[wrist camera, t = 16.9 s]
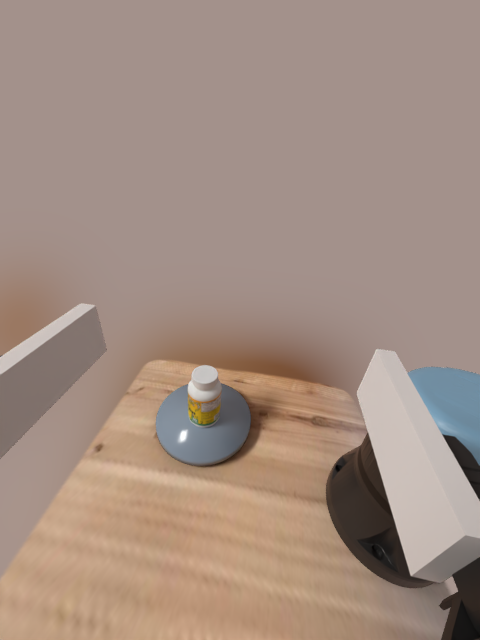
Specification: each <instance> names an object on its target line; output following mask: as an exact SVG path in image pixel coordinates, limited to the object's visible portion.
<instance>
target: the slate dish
mask: <svg viewBox="0 0 480 640" xmlns="http://www.w3.org/2000/svg"><path fill="white" fill-rule="evenodd" d="M221 386H222V391H221V406H220V416H219V419H218V421H217V422H216V423H215V424H214V425H212V426H210V427H206V428H201V427H197V426H196V425H194V424H193V423H191V421H190V419H189V416H188V384H187V385H185V386H182V387H180V388H178V389H177V390H175V391H174V392H172V393H171V394H170V395H169V396H168V397H167V398H166V399H165V400H164V402H163V403H162V405H161V406H160V408H159V411H158V413H157V417H156V430H157V436H158V439H159V442H160V444H161V446H162V447H163V449H164V450H165V451H166V452H167V453H168V454H169V455H170V456H171V457H172V458H174V459H176V460H178V461H180V462H182V463H185V464H189V465H194V466H207V465H213V464H217V463H220V462H222V461H224V460H226V459H228V458H230V457H231V456H233V455H234V454H235V453H236V452H237V451H238V450H239V449H240V448H241V447H242V446H243V444H244V443H245V441H246V439H247V437H248V434H249V430H250V424H251V415H250V410H249V407H248V405H247V403H246V401H245V399H244V398H243V397H242V396H241V395H240V394H239V393H238V392H237V391H236V390H234V389H233V388H231V387H229V386H227V385H225V384H221Z"/></svg>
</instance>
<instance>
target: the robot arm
mask: <svg viewBox="0 0 480 640" xmlns="http://www.w3.org/2000/svg"><path fill="white" fill-rule="evenodd" d="M106 350H107V349H106V344H105V340H104V337H103V333H102V329H101V325H100V321H99V317H98V313H97V309H96V306H95V305H89V304H83V303H81V304H79V305H78V306H76V307H75V308H73V309H72V310H70V311H69V312H67V313H66V314H64V315H63V316H61V317H60V318H58V319H57V320H55V321H54V322H52V323H51V324H50V325H48V326H46V327H45V328H43V329H42V330H40V331H39V332H37V333H36V334H34V335H33V336H31V337H30V338H28V339H27V340H25V341H24V342H22V343H21V344H19V345H18V346H16V347H15V348H13V349H12V350H10V351H9V352H7V353H6V354H4V355H2V356H0V459H1V458H2V457H3V456H4V455H5V454H6V453H7V451H8V450H9V449H10V448H11V447H12V446H13V445H14V444H15V443H16V442H17V441H18V440H19V439H20V438H21V437H22V436H23V435H24V434H25V433H26V432H27V431H28V430H29V429H30V428H31V427H32V426H33V425H34V424H35V423H36V422H37V421H38V420H39V419H40V418H41V417H42V416H43V415H44V414H45V413H46V412H47V411H48V410H49V409H50V408H51V407H52V406H53V405H54V403H56V402H57V400H58V399H60V397H61V396H62V395H63V394H64V393H65V392H66V391H67V390H68V389H69V388H70V387H71V386H72V385H73V384H74V383H75V382H76V381H77V380H78V379H79V378H80V377H81V376H82V375H83V374H84V373H85V372H86V371H87V370H88V369H89V368H90V367H91V366H92V365H93V364H94V363H95V362H96V360H98V359H99V358H100V357H101V356H102V355H103V354H104V353H105V352H106ZM357 396H358V400H359V403H360V406H361V410H362V413H363V417H364V420H365V423H366V427H367V430H368V433H367V435H366V437H365V439H364V441H363V443H362V445H360V446H359V447H357V448H355V449H353V450H351V451H350V452H348V453H346V454H344V455H343V456H342V457H340V458H339V459H338V461H337V462H336V463H335V465H334V466H333V468H332V470H331V472H330V474H329V477H328V480H327V485H326V500H327V505H328V510H329V513H330V516H331V519H332V521H333V524H334V526H335V528H336V530H337V532H338V534H339V535H340V537H341V539H342V540H343V542H344V543H345V544H346V546H347V547H348V548H349V550H350V551H351V552H352V553H353V554H354V556H355V557H356V558H357V559H358V560H359V561H360V562H361V563H362V564H363V565H365V566H366V567H367V568H368V569H369V570H371V571H372V572H373V573H375V574H376V575H378V576H379V577H381V578H383V579H385V580H386V581H388V582H391V583H393V584H396V585H399V586H402V587H407V588H421V587H425V586H428V585H430V584H432V583H434V582H438V583H442V582H443V581H445V580H447V579H448V578H450V577H451V576H453V578H454V581H455V583H456V586H457V588H458V592H457V593H455V594H453V595H451V596H449V597H448V598H446V599H444V600H443V601H442V603H441V604H440V605H439V606H440V607H441V608H442V609H443V610H446V609H448V608H450V607H451V608H450V612H449V615H448V619H447V622H446V625H445V629H444V632H443V635H442V639H441V640H480V375H479V374H476V373H472V372H468V371H464V370H460V369H454V368H441V367H424V368H419V369H415V370H412V371H410V372H408V373H407V372H406V370H405V369H404V367H403V365H402V363H401V361H400V360H399V358H398V356H397V355H396V353H395V352H394V351H387V350H380V349H376V351H375V353H374V356H373V358H372V360H371V362H370V364H369V367H368V369H367V371H366V373H365V375H364V378H363V380H362V382H361V384H360V386H359V389H358V391H357Z"/></svg>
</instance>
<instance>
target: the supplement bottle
mask: <svg viewBox="0 0 480 640" xmlns="http://www.w3.org/2000/svg"><path fill="white" fill-rule="evenodd" d="M221 391H222V386H221V383H220V381H219V380H218V372H217V370H216V369H215V368H213V367H211V366H207V365H203V366H199V367H197V368H195V369H194V370H193V372H192V380H191V381H190V382H189V384H188V416H189V419H190V421H191V423H193V424H194V425H196V426H197V427H201V428H206V427H210V426H212V425H214V424H215V423H216V422H217V421H218V419H219V416H220V406H221Z"/></svg>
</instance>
